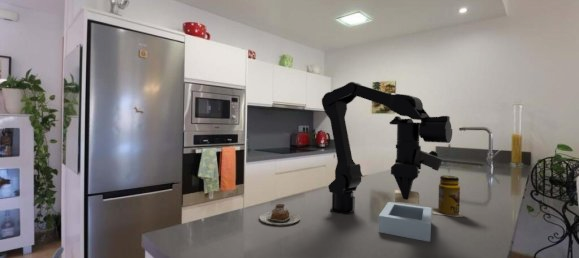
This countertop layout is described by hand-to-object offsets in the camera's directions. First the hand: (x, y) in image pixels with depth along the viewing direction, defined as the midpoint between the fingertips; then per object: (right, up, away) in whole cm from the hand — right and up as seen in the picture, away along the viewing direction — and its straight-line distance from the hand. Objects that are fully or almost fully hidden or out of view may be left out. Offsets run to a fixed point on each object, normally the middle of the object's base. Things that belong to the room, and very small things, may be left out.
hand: (406, 197), depth 76 cm
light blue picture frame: (0, -8, 0) cm, 8 cm away
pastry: (-35, -8, +4) cm, 36 cm away
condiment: (+19, -9, +15) cm, 26 cm away
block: (0, -1, 0) cm, 1 cm away
